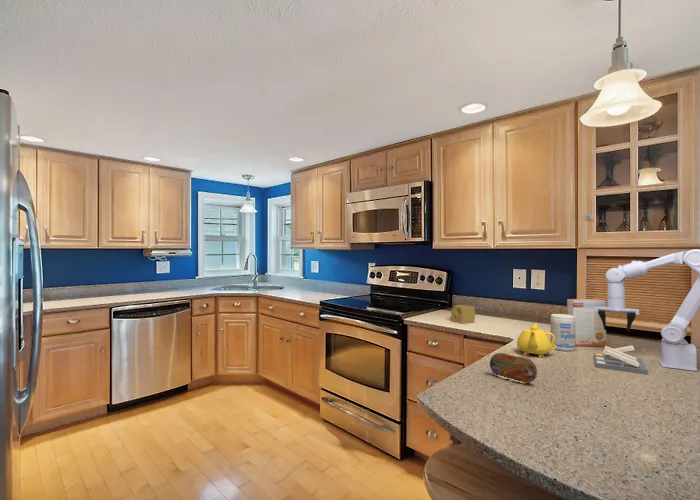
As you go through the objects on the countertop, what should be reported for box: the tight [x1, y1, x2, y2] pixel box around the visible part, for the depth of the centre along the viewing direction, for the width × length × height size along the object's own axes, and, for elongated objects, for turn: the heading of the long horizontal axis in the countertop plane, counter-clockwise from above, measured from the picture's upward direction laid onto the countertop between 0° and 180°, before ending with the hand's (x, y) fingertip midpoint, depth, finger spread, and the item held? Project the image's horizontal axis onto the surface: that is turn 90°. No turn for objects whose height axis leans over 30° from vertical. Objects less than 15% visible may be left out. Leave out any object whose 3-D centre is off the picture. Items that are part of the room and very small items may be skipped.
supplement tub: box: [550, 313, 576, 352], centre depth 160 cm, size 10×10×15 cm
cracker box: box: [566, 298, 607, 348], centre depth 166 cm, size 14×6×21 cm, turn 84°
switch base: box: [593, 352, 649, 375], centre depth 136 cm, size 15×16×3 cm
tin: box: [489, 352, 538, 384], centre depth 121 cm, size 15×3×8 cm, turn 40°
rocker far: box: [602, 345, 635, 355], centre depth 141 cm, size 10×3×1 cm, turn 58°
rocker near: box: [604, 349, 640, 367], centre depth 131 cm, size 10×3×1 cm, turn 58°
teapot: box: [516, 322, 557, 358], centre depth 151 cm, size 20×15×12 cm
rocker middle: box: [603, 345, 637, 361], centre depth 136 cm, size 10×3×1 cm, turn 58°
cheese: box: [449, 304, 476, 325], centre depth 222 cm, size 10×11×10 cm
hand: (616, 330), depth 148 cm, fingers open, 7 cm apart
